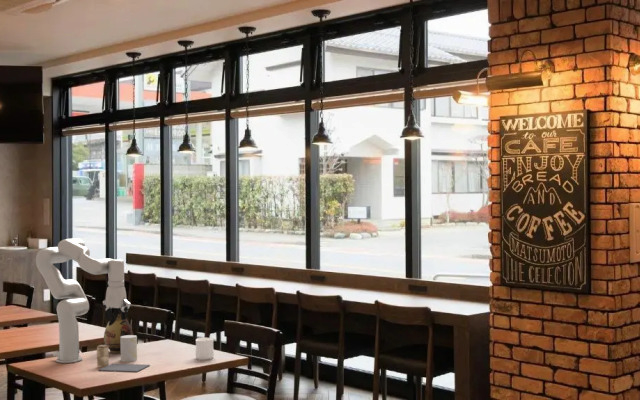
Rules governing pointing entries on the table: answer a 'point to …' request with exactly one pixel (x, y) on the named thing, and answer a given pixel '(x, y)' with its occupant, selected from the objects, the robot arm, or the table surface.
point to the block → (102, 356)
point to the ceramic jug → (116, 331)
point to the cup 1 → (128, 348)
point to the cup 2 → (204, 348)
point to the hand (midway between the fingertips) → (116, 319)
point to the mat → (124, 367)
